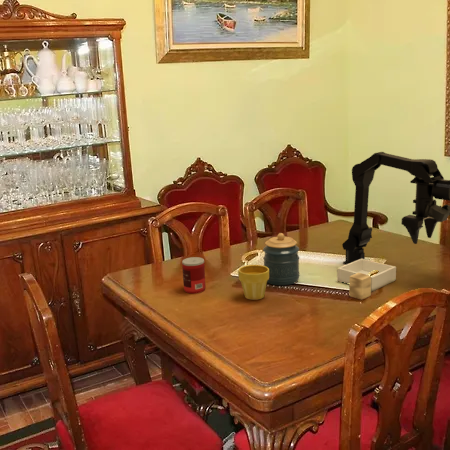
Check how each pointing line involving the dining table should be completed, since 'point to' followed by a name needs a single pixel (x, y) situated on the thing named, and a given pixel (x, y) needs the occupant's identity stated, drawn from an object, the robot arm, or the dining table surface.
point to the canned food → (193, 275)
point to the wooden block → (360, 286)
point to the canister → (282, 260)
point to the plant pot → (254, 280)
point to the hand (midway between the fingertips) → (422, 240)
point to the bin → (366, 266)
